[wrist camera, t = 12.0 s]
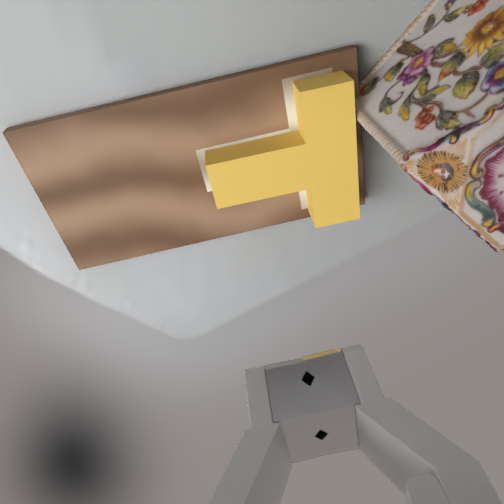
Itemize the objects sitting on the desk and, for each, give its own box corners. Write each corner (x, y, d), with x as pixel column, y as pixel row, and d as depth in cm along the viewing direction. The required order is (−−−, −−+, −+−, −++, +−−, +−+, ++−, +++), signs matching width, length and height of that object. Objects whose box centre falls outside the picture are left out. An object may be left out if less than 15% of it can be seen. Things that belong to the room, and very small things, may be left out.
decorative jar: (528, 74, 38) (738, 162, 23) (422, 175, 43) (542, 300, 28) (448, -29, 33) (653, 1, 18) (336, 98, 37) (429, 204, 23)
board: (6, 128, 35) (2, 132, 34) (352, 45, 35) (356, 47, 34) (81, 263, 43) (79, 270, 43) (361, 198, 43) (365, 204, 42)
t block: (192, 103, 35) (192, 116, 32) (342, 70, 35) (354, 80, 32) (225, 229, 42) (227, 247, 39) (350, 201, 42) (360, 218, 39)
